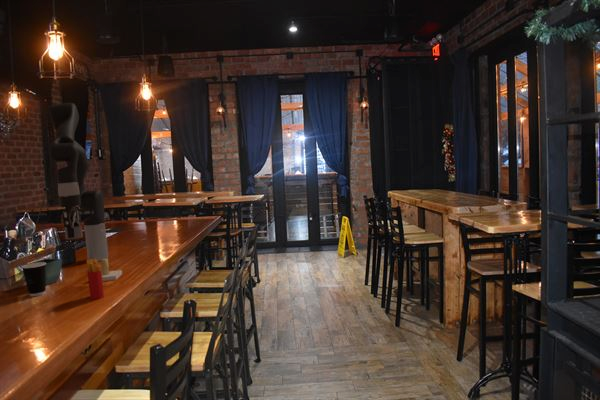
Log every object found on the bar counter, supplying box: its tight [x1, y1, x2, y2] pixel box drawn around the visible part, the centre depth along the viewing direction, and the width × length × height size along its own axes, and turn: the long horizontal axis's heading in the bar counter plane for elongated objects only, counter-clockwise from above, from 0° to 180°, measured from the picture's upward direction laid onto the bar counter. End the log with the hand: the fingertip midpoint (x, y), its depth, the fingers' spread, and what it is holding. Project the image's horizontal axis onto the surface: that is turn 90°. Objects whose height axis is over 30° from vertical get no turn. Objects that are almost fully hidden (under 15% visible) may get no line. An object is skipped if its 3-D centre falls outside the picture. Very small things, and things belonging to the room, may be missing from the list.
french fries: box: [86, 258, 105, 301], centre depth 168 cm, size 9×4×13 cm, turn 19°
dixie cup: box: [20, 262, 47, 297], centre depth 177 cm, size 8×8×11 cm
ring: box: [64, 224, 84, 240], centre depth 194 cm, size 6×6×4 cm
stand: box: [100, 258, 123, 282], centre depth 195 cm, size 10×10×8 cm
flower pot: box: [27, 258, 62, 286], centre depth 193 cm, size 9×9×9 cm
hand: (74, 236), depth 194 cm, fingers closed on ring, 6 cm apart
